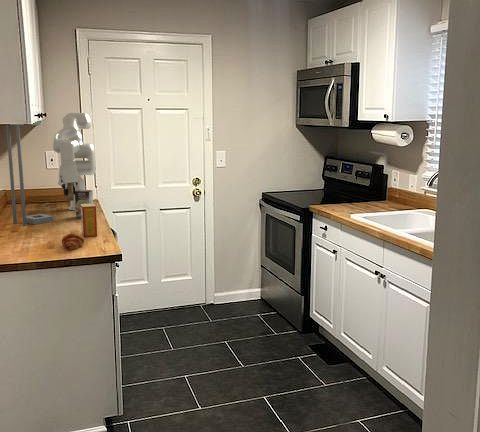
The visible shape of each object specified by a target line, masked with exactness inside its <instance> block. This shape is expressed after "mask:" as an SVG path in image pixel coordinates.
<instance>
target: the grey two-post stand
mask: <svg viewBox="0 0 480 432" xmlns="http://www.w3.org/2000/svg"><path fill="white" fill-rule="evenodd" d="M36 121H37V122H36V123H34V124H31V125H30V126H36V125H37V126H39V125H41V120H36ZM5 126H6V127H5V129H6V139H7V153H8V155H7V157H8V165H9V168H8V169H9V179H10V181H9V183H10V195H11V196H10V197H11V208H12V220H13V224H14V223H17V224H18V220H17V219H18V217H17V206H16V205H17V204H16V193H15V190H16V189H15V179H14V178H15V177H14V166H13V165H14V164H13V151H12V150H13V149H12V139H11V138H12V137H11V126H15V134H16V145H17V146H16V147H17V159H18V162H17V164H18V176H19V177H18V178H19V188H20V189H19V191H20V205H21V218H22V219H21V220H22V226H23V227H26V226H27V223H26V216H27V214H26V201H25V199H26V198H25V184H24V172H23V170H24V169H23V157H22V145H21V144H22V143H21V131H20V126H25V125H24V124H10V125H5Z"/></svg>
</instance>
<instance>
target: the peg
mask: <svg viewBox="0 0 480 432" xmlns="http://www.w3.org/2000/svg"><path fill="white" fill-rule="evenodd" d="M67 189H68V196H66V195H65V198H66V199H65V200H66V201H67V202H71V201H73V200H74V196H73V183H68V184H67Z"/></svg>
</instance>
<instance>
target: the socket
mask: <svg viewBox="0 0 480 432" xmlns="http://www.w3.org/2000/svg"><path fill="white" fill-rule="evenodd" d="M51 222H54V216H53V215H49V214H46V213H45V214H44V213H37V214H32V215H26V224H30V225H39V224H45V223H46V224H47V223H51Z"/></svg>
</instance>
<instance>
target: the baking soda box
mask: <svg viewBox="0 0 480 432" xmlns="http://www.w3.org/2000/svg"><path fill="white" fill-rule="evenodd" d="M80 207H81V218H80V221H81V224H80V225H81V235H82V237H83V239H84V238H86V239H87V238H97V237H98V227H97V226H98V223H97V206H96V204H95V203H94V202H93V203H90V204H80Z"/></svg>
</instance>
